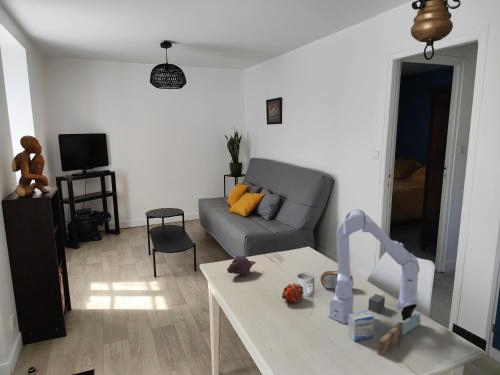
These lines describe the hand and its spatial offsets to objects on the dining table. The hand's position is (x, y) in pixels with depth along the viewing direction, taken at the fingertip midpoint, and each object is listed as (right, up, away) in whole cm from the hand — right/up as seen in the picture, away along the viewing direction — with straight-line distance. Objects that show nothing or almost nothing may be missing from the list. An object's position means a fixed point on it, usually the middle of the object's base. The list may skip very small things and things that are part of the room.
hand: (406, 320), depth 131 cm
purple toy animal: (-65, +5, +49) cm, 81 cm away
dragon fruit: (-41, 0, +21) cm, 46 cm away
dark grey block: (-7, 0, +13) cm, 15 cm away
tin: (-19, +3, +32) cm, 37 cm away
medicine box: (-19, -4, -5) cm, 20 cm away
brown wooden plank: (-10, -5, -10) cm, 15 cm away
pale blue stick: (+1, -3, -2) cm, 3 cm away
